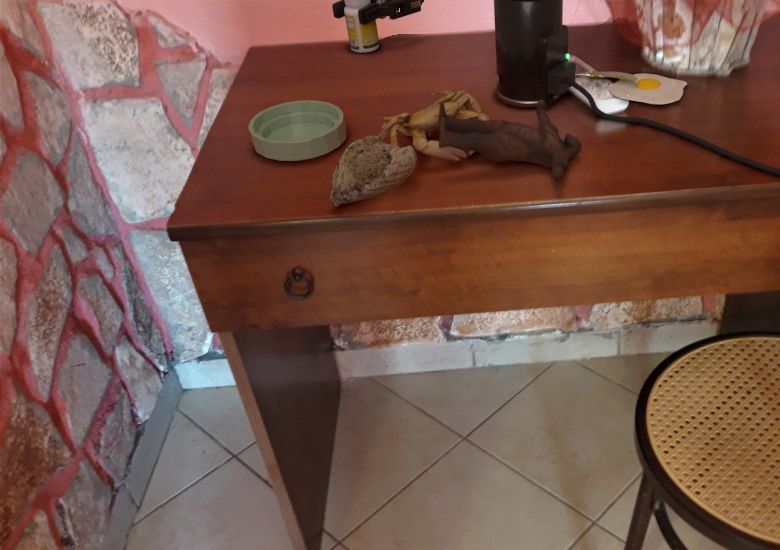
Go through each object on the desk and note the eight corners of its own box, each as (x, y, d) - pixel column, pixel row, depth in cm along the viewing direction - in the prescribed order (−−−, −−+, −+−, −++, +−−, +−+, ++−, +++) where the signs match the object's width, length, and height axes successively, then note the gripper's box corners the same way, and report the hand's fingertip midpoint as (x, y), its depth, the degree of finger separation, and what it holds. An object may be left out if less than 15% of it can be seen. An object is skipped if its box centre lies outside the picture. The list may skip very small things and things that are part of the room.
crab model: (431, 181, 93) (428, 138, 89) (361, 150, 99) (356, 109, 95) (515, 141, 102) (515, 100, 98) (446, 115, 108) (444, 76, 104)
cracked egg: (627, 70, 117) (628, 62, 116) (698, 80, 112) (699, 72, 111) (598, 95, 110) (598, 87, 109) (672, 107, 105) (673, 98, 105)
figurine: (438, 76, 97) (575, 97, 101) (433, 113, 100) (565, 132, 104) (443, 147, 84) (599, 168, 88) (437, 187, 88) (587, 206, 92)
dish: (366, 134, 104) (363, 112, 102) (300, 173, 96) (295, 151, 94) (301, 113, 109) (297, 92, 107) (234, 149, 101) (228, 128, 99)
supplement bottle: (382, 42, 127) (375, -12, 121) (376, 53, 124) (368, -2, 118) (354, 42, 128) (345, -12, 122) (347, 53, 124) (337, -2, 118)
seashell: (335, 231, 92) (376, 209, 84) (297, 182, 90) (336, 154, 82) (394, 184, 98) (437, 159, 91) (360, 136, 96) (402, 107, 88)
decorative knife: (647, 71, 112) (634, 79, 109) (647, 74, 112) (635, 83, 109) (575, 68, 117) (561, 76, 114) (575, 72, 118) (561, 80, 114)
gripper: (451, 14, 130) (385, 47, 120) (386, 0, 136) (318, 31, 126) (447, -35, 125) (378, -3, 114) (380, -47, 131) (309, -18, 120)
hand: (347, 14), depth 120 cm, fingers closed on supplement bottle, 4 cm apart
